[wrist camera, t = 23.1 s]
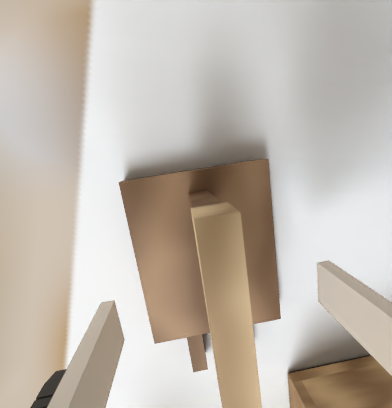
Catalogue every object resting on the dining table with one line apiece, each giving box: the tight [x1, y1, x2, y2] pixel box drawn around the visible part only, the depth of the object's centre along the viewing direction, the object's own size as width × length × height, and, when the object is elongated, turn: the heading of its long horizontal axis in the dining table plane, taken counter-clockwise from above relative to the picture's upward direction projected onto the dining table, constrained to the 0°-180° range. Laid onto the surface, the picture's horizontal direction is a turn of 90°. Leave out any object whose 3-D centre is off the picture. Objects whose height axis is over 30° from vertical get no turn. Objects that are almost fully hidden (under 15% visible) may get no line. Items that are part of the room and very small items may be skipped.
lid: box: [119, 159, 281, 408], centre depth 16 cm, size 12×19×10 cm, turn 8°
